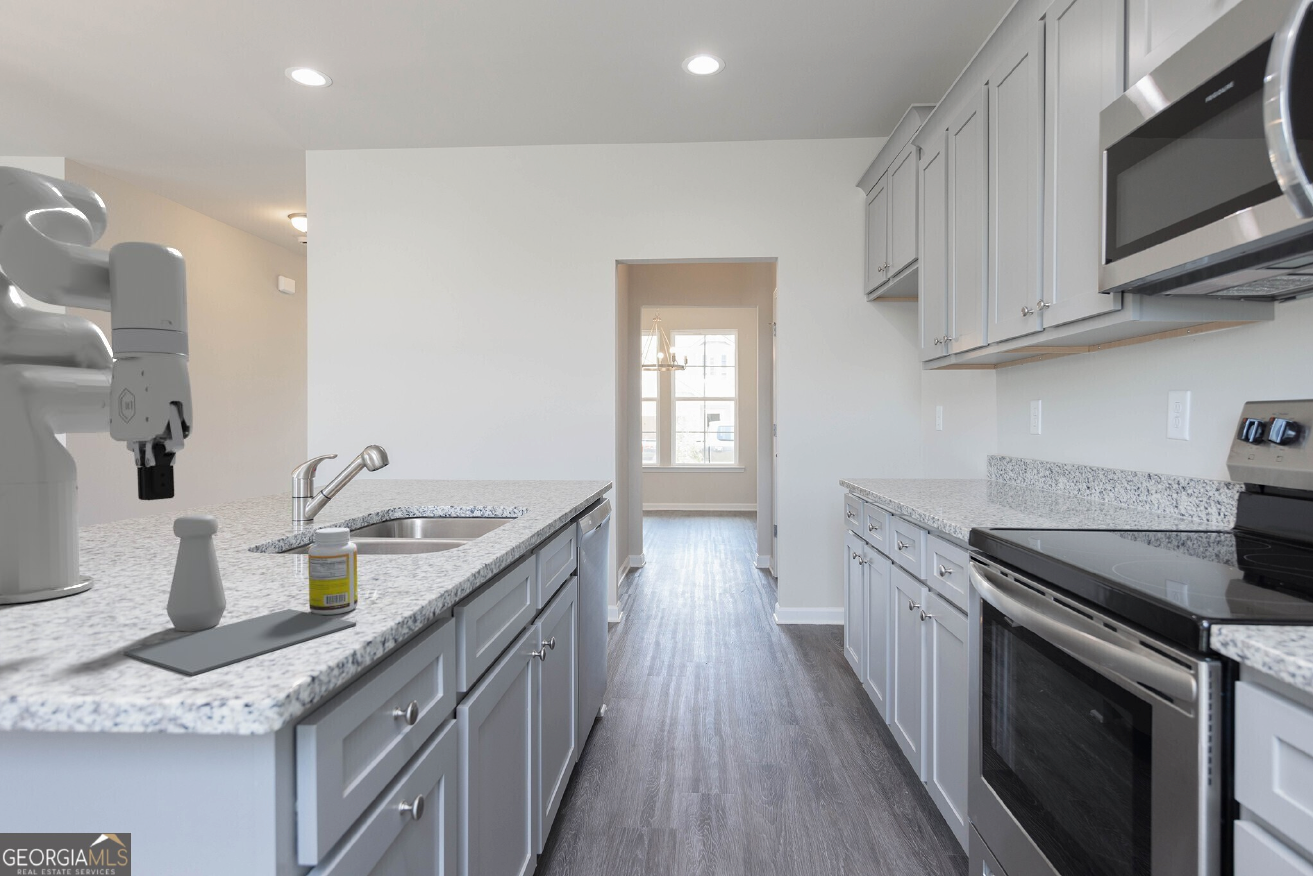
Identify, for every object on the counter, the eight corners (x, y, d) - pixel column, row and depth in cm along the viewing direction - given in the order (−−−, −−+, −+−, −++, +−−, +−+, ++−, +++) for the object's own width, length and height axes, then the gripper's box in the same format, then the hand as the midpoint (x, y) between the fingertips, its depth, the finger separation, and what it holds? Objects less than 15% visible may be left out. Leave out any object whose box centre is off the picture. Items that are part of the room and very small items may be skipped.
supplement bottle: (334, 602, 91) (333, 525, 90) (367, 606, 88) (366, 527, 88) (298, 613, 85) (297, 531, 85) (332, 618, 83) (331, 534, 83)
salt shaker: (196, 635, 77) (194, 519, 76) (153, 632, 78) (151, 518, 77) (238, 620, 82) (236, 512, 82) (197, 617, 84) (195, 511, 83)
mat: (123, 654, 71) (123, 651, 71) (289, 611, 86) (289, 608, 86) (192, 675, 65) (192, 672, 65) (356, 625, 80) (356, 622, 80)
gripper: (84, 350, 84) (89, 500, 84) (149, 340, 77) (155, 504, 77) (152, 355, 90) (157, 494, 91) (218, 346, 83) (224, 497, 84)
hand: (156, 498), depth 84 cm, fingers closed
